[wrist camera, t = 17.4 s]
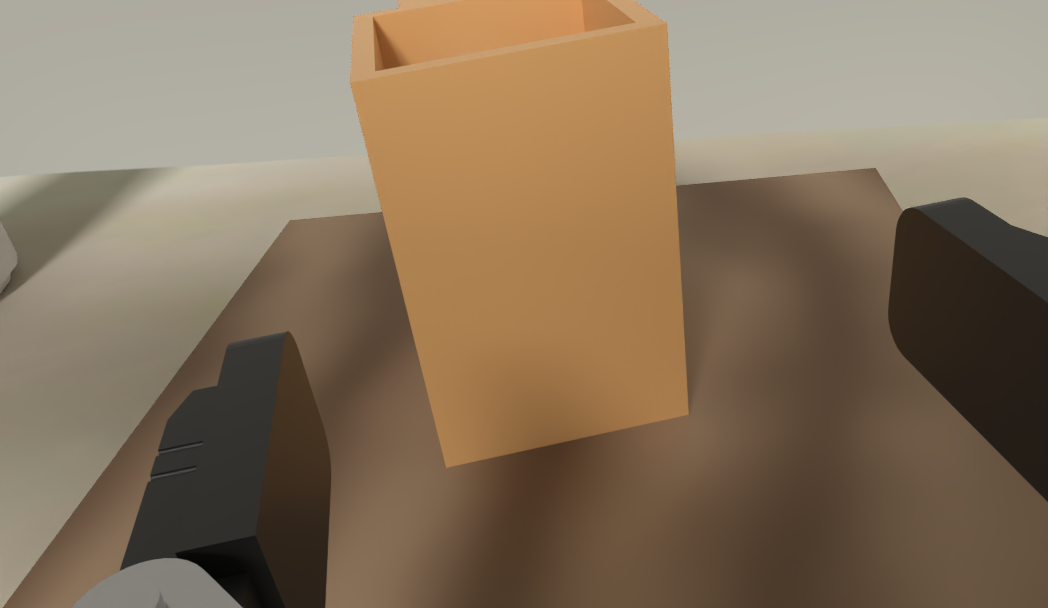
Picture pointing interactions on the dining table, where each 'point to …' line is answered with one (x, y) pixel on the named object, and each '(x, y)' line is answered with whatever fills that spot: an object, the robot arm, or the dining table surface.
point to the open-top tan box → (529, 213)
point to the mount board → (632, 440)
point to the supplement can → (6, 258)
